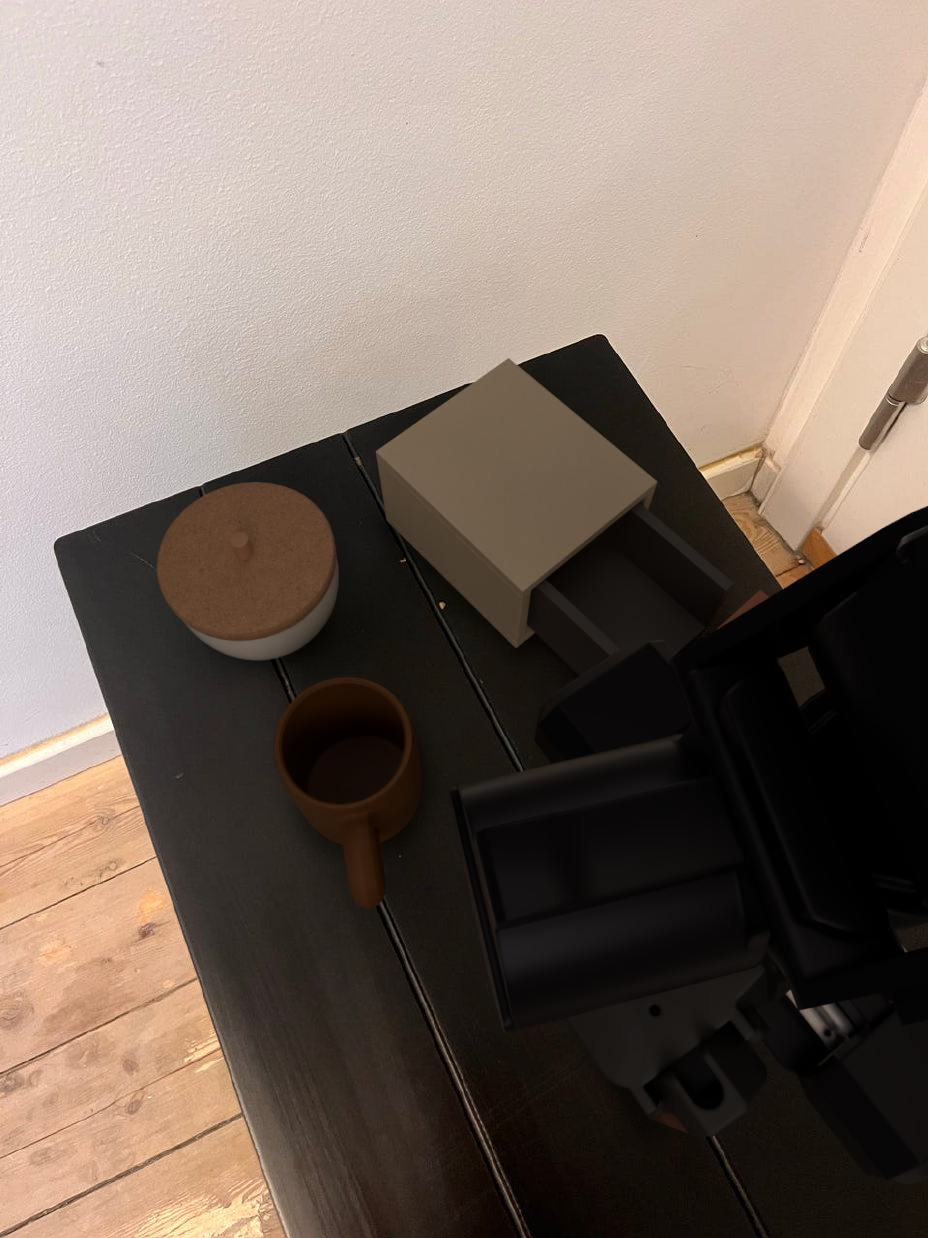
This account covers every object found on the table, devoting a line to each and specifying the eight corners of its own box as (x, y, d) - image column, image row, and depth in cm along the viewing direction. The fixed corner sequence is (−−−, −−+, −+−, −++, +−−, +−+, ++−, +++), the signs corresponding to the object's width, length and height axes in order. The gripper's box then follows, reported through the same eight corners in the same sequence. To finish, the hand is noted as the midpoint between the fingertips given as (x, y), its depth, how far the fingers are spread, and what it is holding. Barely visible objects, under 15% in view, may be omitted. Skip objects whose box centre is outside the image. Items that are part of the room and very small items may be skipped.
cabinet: (635, 548, 62) (658, 481, 54) (516, 648, 58) (522, 591, 51) (504, 433, 66) (508, 357, 59) (386, 520, 63) (375, 451, 55)
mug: (447, 912, 51) (443, 884, 42) (317, 938, 50) (286, 916, 42) (412, 719, 56) (402, 661, 48) (294, 742, 55) (263, 687, 47)
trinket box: (182, 565, 61) (136, 487, 53) (332, 528, 62) (310, 447, 54) (205, 703, 57) (159, 642, 48) (366, 660, 58) (348, 594, 49)
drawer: (792, 687, 56) (829, 647, 50) (683, 794, 53) (709, 764, 47) (608, 525, 61) (622, 472, 56) (499, 614, 58) (502, 567, 53)
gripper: (405, 730, 26) (430, 841, 40) (870, 1398, 19) (703, 1249, 33) (689, 544, 29) (619, 709, 43) (1187, 1071, 22) (909, 1061, 36)
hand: (699, 911), depth 38 cm, fingers closed on block, 4 cm apart
